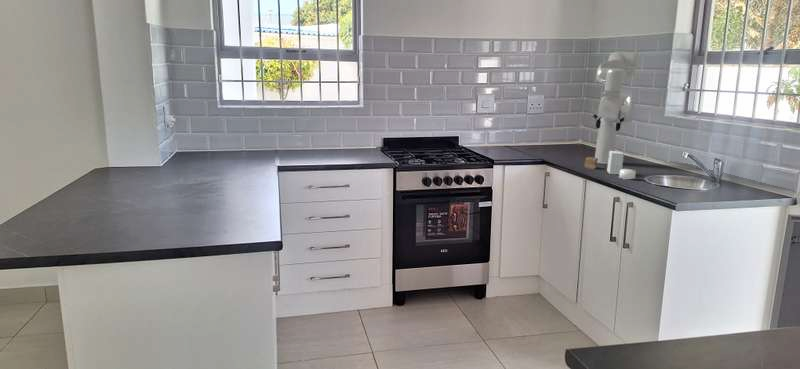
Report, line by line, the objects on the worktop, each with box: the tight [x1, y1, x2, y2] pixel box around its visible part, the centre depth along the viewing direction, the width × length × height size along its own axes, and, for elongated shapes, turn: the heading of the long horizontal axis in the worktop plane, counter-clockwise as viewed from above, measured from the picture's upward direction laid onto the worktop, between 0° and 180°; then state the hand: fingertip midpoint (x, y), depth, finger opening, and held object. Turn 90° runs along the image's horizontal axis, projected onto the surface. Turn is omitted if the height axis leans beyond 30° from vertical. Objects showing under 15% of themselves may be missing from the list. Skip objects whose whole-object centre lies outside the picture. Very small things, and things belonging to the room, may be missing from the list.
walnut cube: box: [584, 156, 599, 170], centre depth 289 cm, size 5×5×5 cm
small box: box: [606, 150, 625, 176], centre depth 277 cm, size 8×6×10 cm
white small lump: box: [618, 168, 637, 180], centre depth 266 cm, size 7×7×4 cm
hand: (607, 129), depth 280 cm, fingers open, 9 cm apart
